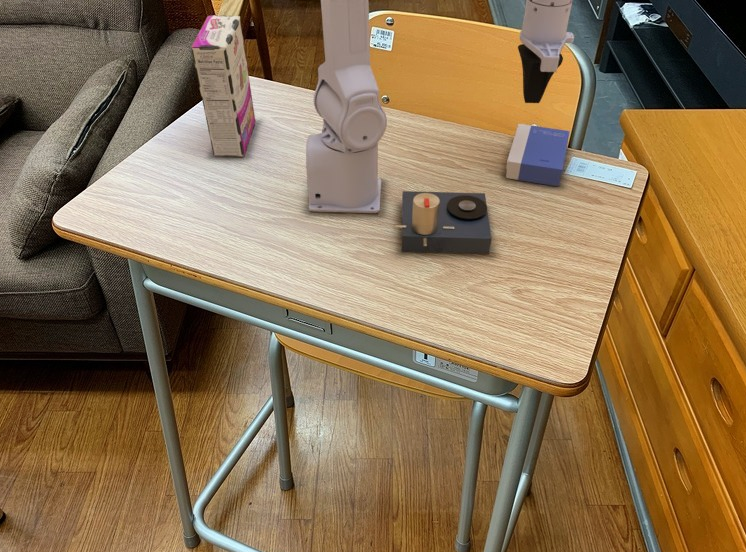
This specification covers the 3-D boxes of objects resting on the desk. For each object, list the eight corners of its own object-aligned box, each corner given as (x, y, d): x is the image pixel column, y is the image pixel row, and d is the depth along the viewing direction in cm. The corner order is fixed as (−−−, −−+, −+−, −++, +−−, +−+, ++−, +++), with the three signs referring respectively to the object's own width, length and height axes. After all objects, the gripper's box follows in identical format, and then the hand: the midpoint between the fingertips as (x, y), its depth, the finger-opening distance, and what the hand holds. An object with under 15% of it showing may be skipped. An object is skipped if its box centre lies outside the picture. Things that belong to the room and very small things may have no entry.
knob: (411, 219, 83) (412, 190, 80) (436, 220, 83) (439, 190, 80) (412, 235, 81) (413, 205, 78) (438, 235, 81) (440, 205, 78)
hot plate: (393, 261, 81) (394, 244, 80) (395, 206, 90) (395, 189, 88) (490, 264, 81) (493, 246, 80) (482, 208, 90) (485, 192, 88)
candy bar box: (225, 121, 106) (206, 14, 94) (256, 122, 106) (241, 14, 94) (211, 157, 98) (189, 45, 86) (244, 158, 98) (227, 46, 86)
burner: (447, 220, 83) (447, 216, 83) (445, 197, 87) (446, 193, 87) (488, 222, 83) (489, 217, 83) (485, 198, 87) (485, 194, 87)
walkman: (558, 187, 94) (566, 146, 102) (562, 169, 92) (570, 129, 100) (503, 178, 95) (515, 138, 103) (506, 160, 93) (518, 122, 101)
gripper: (592, 20, 79) (568, 126, 89) (571, -20, 89) (552, 79, 99) (533, 19, 79) (515, 125, 89) (519, -21, 89) (504, 78, 99)
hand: (531, 100), depth 94 cm, fingers closed
